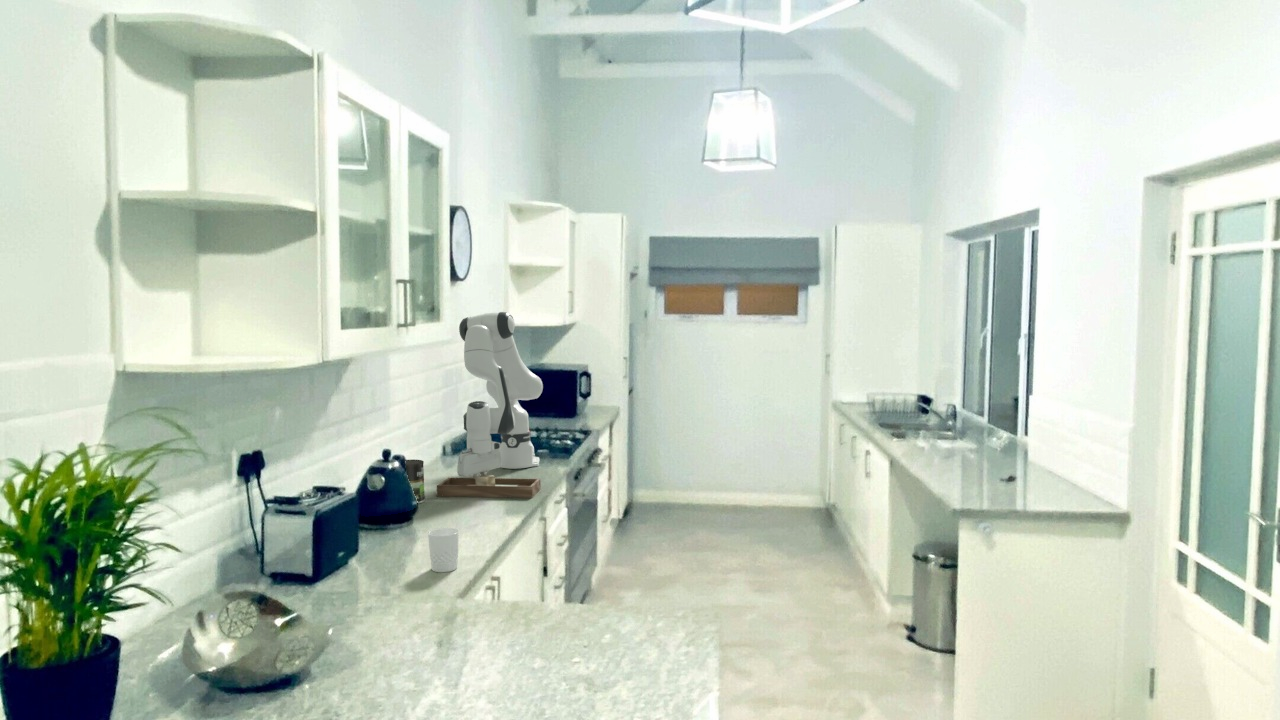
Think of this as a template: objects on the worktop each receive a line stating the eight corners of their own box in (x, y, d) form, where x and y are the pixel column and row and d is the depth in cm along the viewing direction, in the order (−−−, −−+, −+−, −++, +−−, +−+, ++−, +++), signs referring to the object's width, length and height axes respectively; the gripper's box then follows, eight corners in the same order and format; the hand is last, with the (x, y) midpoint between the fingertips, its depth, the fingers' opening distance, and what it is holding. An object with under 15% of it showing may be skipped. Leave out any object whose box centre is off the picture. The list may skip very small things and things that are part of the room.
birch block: (485, 486, 322) (485, 474, 321) (495, 487, 319) (494, 475, 319) (477, 489, 318) (477, 476, 318) (486, 490, 316) (486, 478, 315)
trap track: (448, 488, 329) (448, 477, 328) (540, 489, 325) (540, 478, 324) (436, 496, 316) (436, 485, 316) (532, 497, 312) (532, 486, 312)
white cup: (449, 574, 229) (448, 537, 228) (423, 571, 232) (422, 534, 231) (465, 565, 237) (464, 529, 236) (440, 562, 239) (439, 526, 239)
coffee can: (428, 498, 314) (427, 459, 313) (420, 505, 304) (419, 464, 302) (399, 498, 314) (398, 459, 313) (390, 505, 304) (389, 465, 303)
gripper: (465, 452, 309) (466, 490, 310) (504, 443, 326) (504, 479, 327) (452, 450, 312) (453, 488, 313) (491, 441, 329) (492, 478, 331)
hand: (480, 484), depth 320 cm, fingers closed, pressing on birch block
